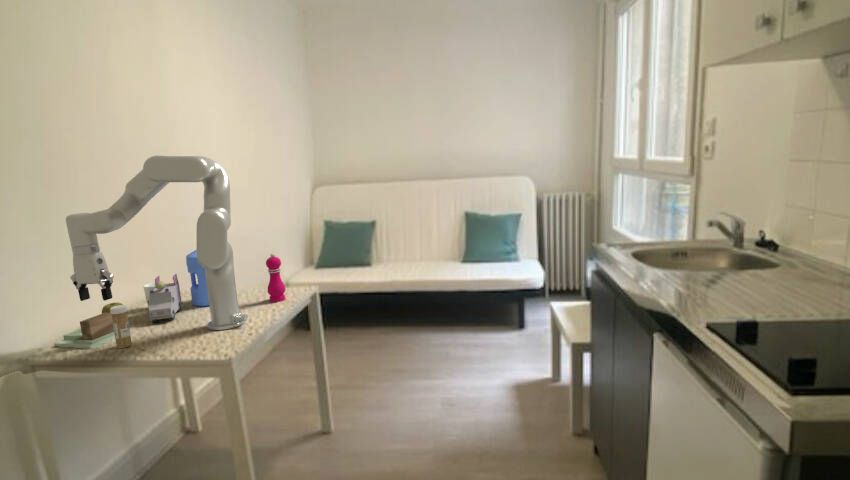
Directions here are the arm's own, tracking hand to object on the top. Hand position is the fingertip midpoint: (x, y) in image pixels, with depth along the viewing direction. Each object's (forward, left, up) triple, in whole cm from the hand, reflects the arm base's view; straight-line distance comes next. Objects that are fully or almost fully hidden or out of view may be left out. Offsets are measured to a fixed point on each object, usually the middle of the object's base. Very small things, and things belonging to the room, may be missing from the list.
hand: (96, 299), depth 170 cm
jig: (+4, 0, -14) cm, 15 cm away
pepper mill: (-37, -50, -15) cm, 64 cm away
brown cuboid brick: (0, 0, -13) cm, 13 cm away
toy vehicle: (-3, -26, -15) cm, 30 cm away
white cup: (+11, -36, -15) cm, 40 cm away
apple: (+14, -18, -15) cm, 27 cm away
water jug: (-8, -46, -15) cm, 49 cm away
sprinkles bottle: (-13, +4, -15) cm, 20 cm away
